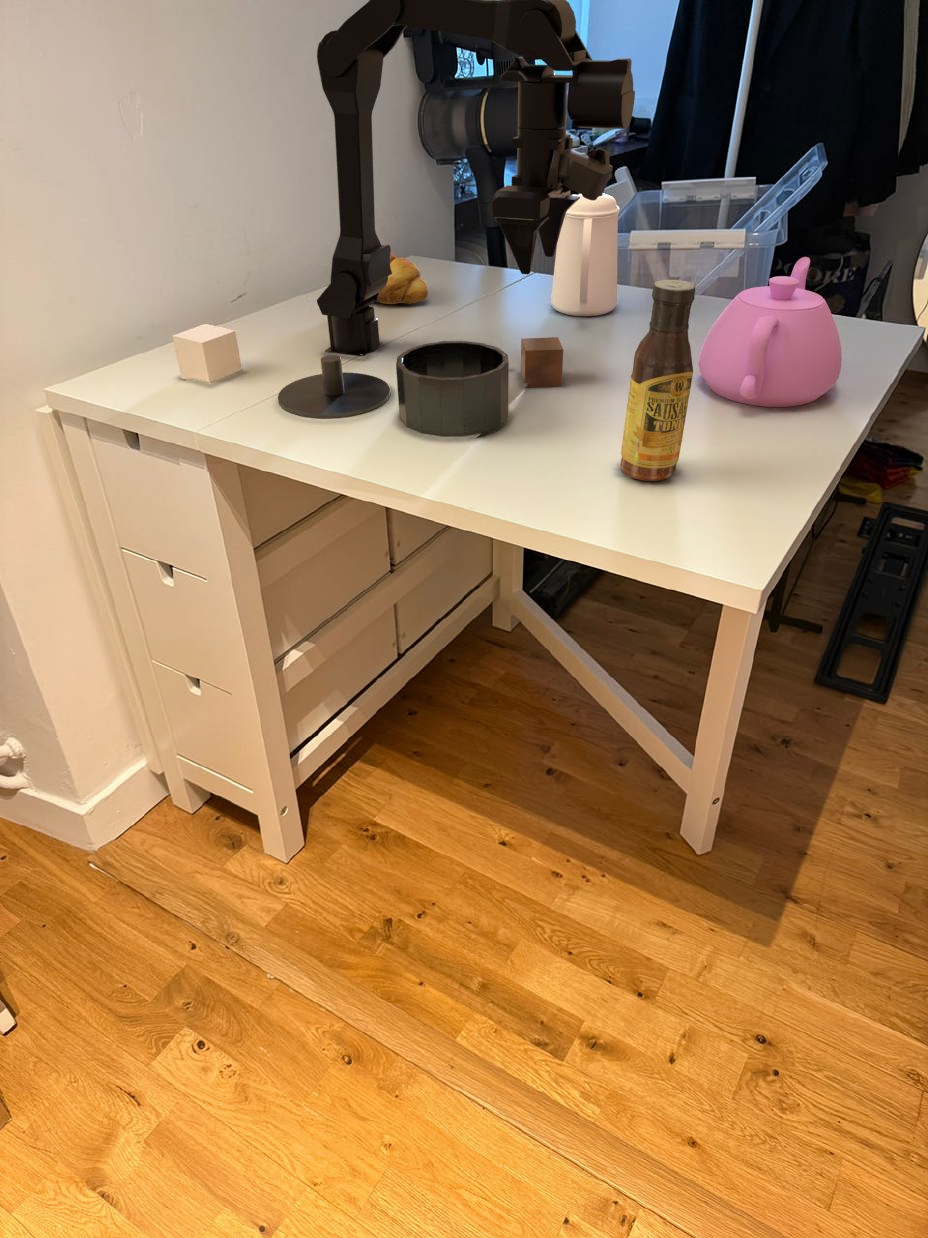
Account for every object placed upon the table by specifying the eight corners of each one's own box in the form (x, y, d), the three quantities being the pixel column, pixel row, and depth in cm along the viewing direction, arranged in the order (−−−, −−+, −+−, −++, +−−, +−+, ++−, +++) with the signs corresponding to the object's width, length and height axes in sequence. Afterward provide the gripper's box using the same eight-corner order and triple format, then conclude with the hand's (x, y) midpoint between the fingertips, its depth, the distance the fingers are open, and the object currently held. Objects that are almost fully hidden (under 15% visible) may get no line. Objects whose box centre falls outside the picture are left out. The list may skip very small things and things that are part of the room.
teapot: (819, 429, 104) (846, 312, 96) (674, 405, 110) (688, 294, 102) (849, 362, 122) (874, 259, 114) (722, 345, 128) (738, 247, 120)
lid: (257, 413, 111) (249, 370, 108) (315, 374, 122) (310, 334, 119) (357, 429, 106) (353, 385, 103) (409, 387, 117) (407, 346, 114)
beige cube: (210, 386, 119) (201, 342, 115) (181, 378, 122) (171, 335, 118) (242, 372, 123) (235, 330, 119) (213, 365, 126) (205, 323, 122)
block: (524, 387, 116) (525, 350, 113) (520, 374, 120) (521, 338, 117) (561, 386, 117) (563, 349, 114) (556, 372, 121) (557, 336, 118)
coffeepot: (616, 286, 154) (625, 169, 143) (616, 331, 134) (627, 198, 123) (554, 285, 156) (559, 169, 145) (546, 330, 136) (550, 198, 125)
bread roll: (439, 299, 150) (438, 250, 145) (403, 313, 144) (400, 263, 139) (383, 288, 156) (380, 241, 152) (346, 301, 150) (341, 252, 145)
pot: (381, 431, 106) (377, 371, 101) (427, 392, 116) (425, 335, 111) (484, 447, 101) (483, 385, 97) (522, 405, 111) (523, 347, 107)
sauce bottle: (639, 489, 92) (660, 297, 81) (608, 465, 97) (624, 280, 85) (690, 476, 94) (718, 288, 83) (658, 454, 99) (680, 272, 87)
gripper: (584, 139, 93) (576, 289, 102) (628, 118, 107) (617, 252, 116) (488, 136, 97) (488, 281, 106) (542, 116, 111) (539, 246, 120)
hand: (537, 264), depth 112 cm, fingers open, 9 cm apart
